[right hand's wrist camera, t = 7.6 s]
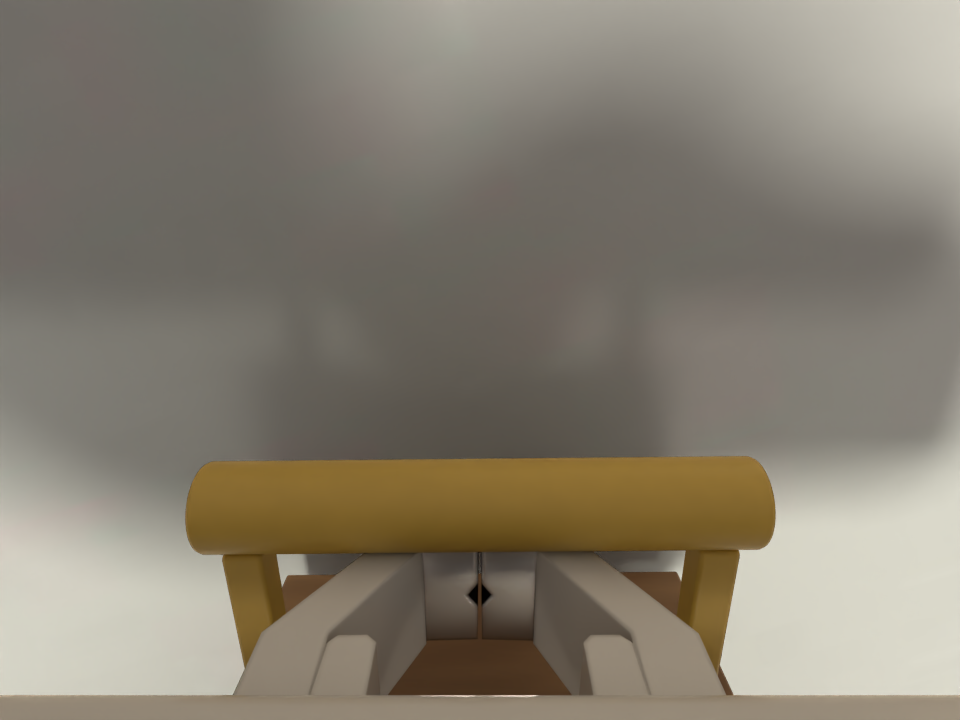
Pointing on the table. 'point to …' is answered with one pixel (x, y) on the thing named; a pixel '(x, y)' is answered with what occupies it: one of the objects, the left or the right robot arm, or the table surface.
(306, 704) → the right robot arm
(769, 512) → the drawer
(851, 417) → the table surface
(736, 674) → the table surface
